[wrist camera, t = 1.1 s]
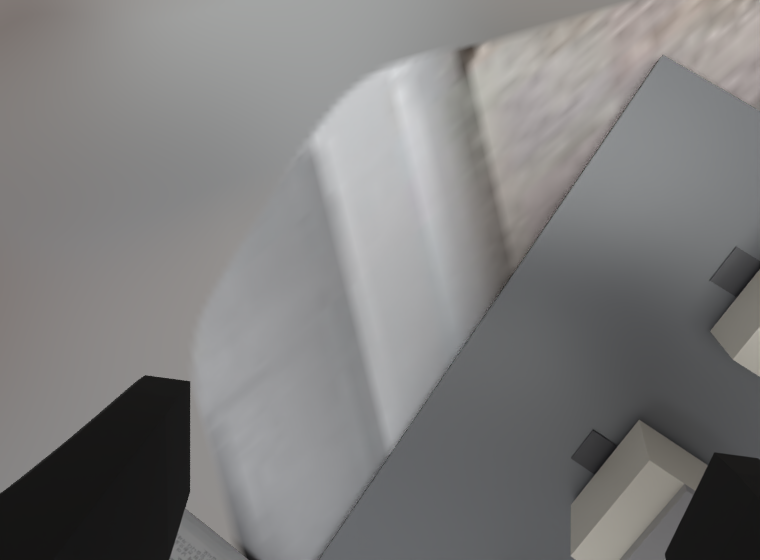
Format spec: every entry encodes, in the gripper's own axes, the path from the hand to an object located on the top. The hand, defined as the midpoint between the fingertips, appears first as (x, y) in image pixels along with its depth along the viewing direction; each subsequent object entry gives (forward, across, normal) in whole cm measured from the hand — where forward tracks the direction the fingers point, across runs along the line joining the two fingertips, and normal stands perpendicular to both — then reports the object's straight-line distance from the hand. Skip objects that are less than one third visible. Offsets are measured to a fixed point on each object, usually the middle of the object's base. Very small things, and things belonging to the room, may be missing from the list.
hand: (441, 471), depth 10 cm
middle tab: (+9, -8, +8) cm, 14 cm away
